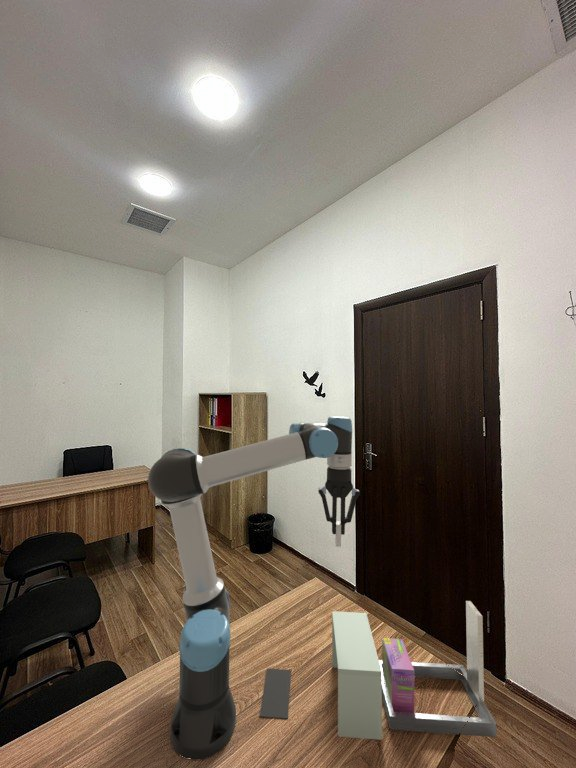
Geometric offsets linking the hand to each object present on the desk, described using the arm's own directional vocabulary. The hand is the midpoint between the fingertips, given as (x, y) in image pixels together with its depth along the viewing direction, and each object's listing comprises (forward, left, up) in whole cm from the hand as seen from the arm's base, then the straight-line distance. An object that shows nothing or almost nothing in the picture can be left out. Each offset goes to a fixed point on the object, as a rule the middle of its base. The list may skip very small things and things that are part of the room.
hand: (338, 544), depth 98 cm
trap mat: (-17, -12, -34) cm, 40 cm away
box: (+14, -12, -34) cm, 39 cm away
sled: (+22, -12, -34) cm, 42 cm away
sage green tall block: (+3, -12, -34) cm, 36 cm away
